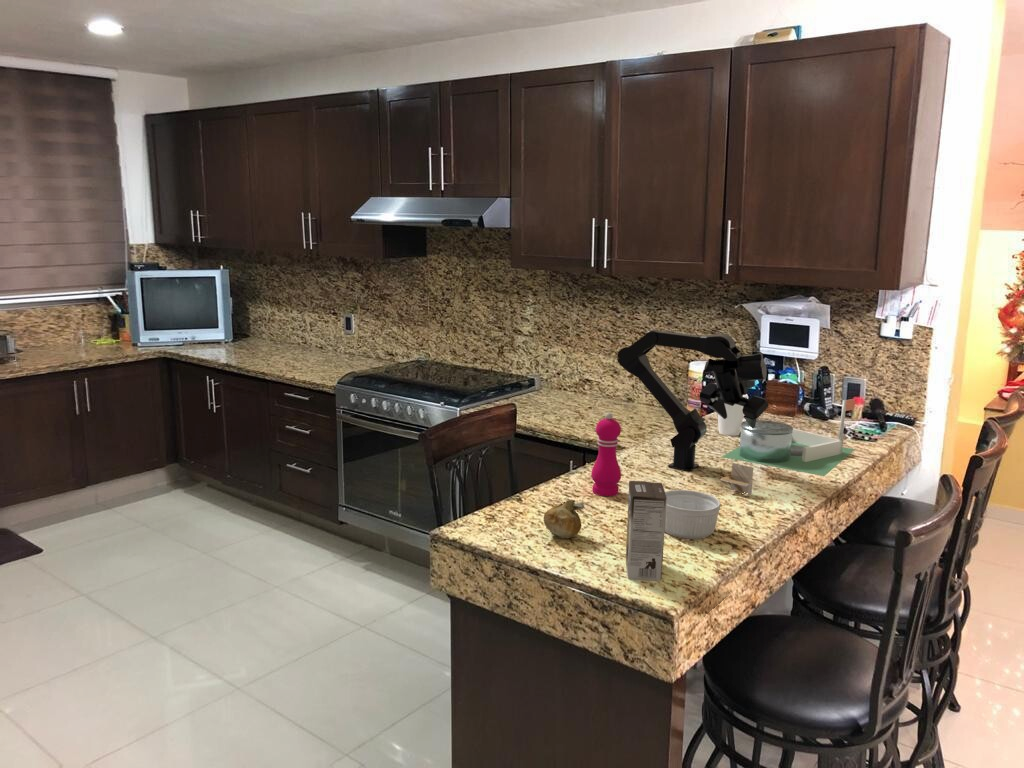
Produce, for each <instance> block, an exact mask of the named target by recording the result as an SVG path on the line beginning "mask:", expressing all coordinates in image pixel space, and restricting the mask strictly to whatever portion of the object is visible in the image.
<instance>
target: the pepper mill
mask: <svg viewBox="0 0 1024 768" xmlns="http://www.w3.org/2000/svg"><path fill="white" fill-rule="evenodd" d="M604 417H605V418H602V419H601V420H599V421H598V422H597V424H596V426H595V433H596V435H597V437H598V438H597V443H596V444H597V445H598V452H597V453H598V454H597V456H596V457H597V458H596V460H595V462H594V464H593V466H592V469H591V472H590V473H591V475H590V476H591V479H592V480H593V482H594V483H593V484H592V493H593V494H594V495H596V496H601V497H613V496H614V497H615V496H617V495H618V494H619V485H618V483H619V482H620V480H621V479H622V471H621V467H620V465H619V462H618V459H617V446H618V445H619V443H618V442H619V439H618V437H619V436H620V435H621V431H622V427H621V425H620V423H619V422H618V421H617V420H616V419H613V417H614V416H613V414H612V412H606V414H605V416H604Z"/></svg>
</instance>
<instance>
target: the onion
mask: <svg viewBox="0 0 1024 768" xmlns="http://www.w3.org/2000/svg"><path fill="white" fill-rule="evenodd" d="M583 509H585V502H576V500H574V499H568V500H566V501H562V502H561V503H558V504H557V505H556V504H555V506H553V507H550V508H549V509H548V510H546V511H545V513H544V515H543V523H544V526H545V527H546V528H547V530H545V531H547V532H549V533H551V535H552V536H554V537H556V538H558V539H572V538H574V537H575V536H577V535H578V534H579V532H580V531H581V528H582V521H581V518H580V516H579V514H578V513H577V511H576V510H583Z"/></svg>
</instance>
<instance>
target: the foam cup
mask: <svg viewBox="0 0 1024 768" xmlns="http://www.w3.org/2000/svg"><path fill="white" fill-rule="evenodd" d="M743 397H744V398H748V393H747V394H746V395H743ZM724 404H725V403H724ZM725 408H726V412H727V418H726V419H723V418H722V417H721V416H720V415H719V414H718V413H717V421H718V422H717V425H718V433H719V434H720V435H724V436H730V437H732V436H739V435H740V434H741V423H742V422H743V420H744V417H743V416H744V414H743V411H742V410H743V406H741V405H738V404H734V406H731V405H728V404H725Z"/></svg>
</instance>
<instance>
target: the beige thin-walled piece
mask: <svg viewBox="0 0 1024 768" xmlns="http://www.w3.org/2000/svg"><path fill="white" fill-rule="evenodd" d="M855 404H856V398H850V399H842V406H841V415H840V423H839V424H840V425H839V434H838V438H835V437H830V436H826V435H822V434H818V433H814V432H811V431H810V432H809V431H806V430H802V429H798V428H794V427H793V432H792V442H795V443H799V444H803V445H807V446H809V447H803V446H798V445H791V453H790V455H791V456H802V462H808V461H812V460H817V459H821V458H826V457H830V456H834V455H839V454H842V447H844V446H843V444H844V439H843V438H844V430H845V429H844V428H845V419H846V412H848V411H854V410H855Z"/></svg>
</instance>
